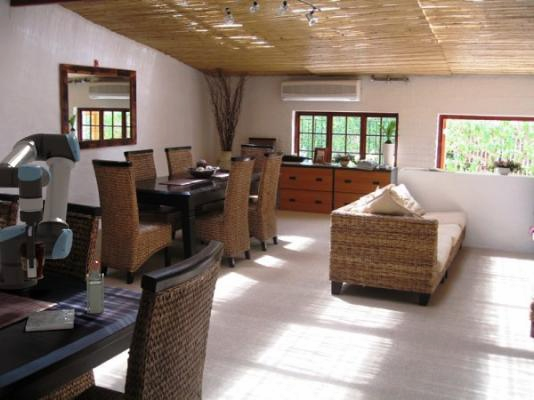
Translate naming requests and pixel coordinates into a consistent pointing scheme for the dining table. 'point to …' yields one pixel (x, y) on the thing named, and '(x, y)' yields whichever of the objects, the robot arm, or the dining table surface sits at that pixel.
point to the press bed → (50, 320)
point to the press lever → (95, 271)
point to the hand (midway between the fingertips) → (33, 273)
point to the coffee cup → (39, 259)
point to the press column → (95, 296)
